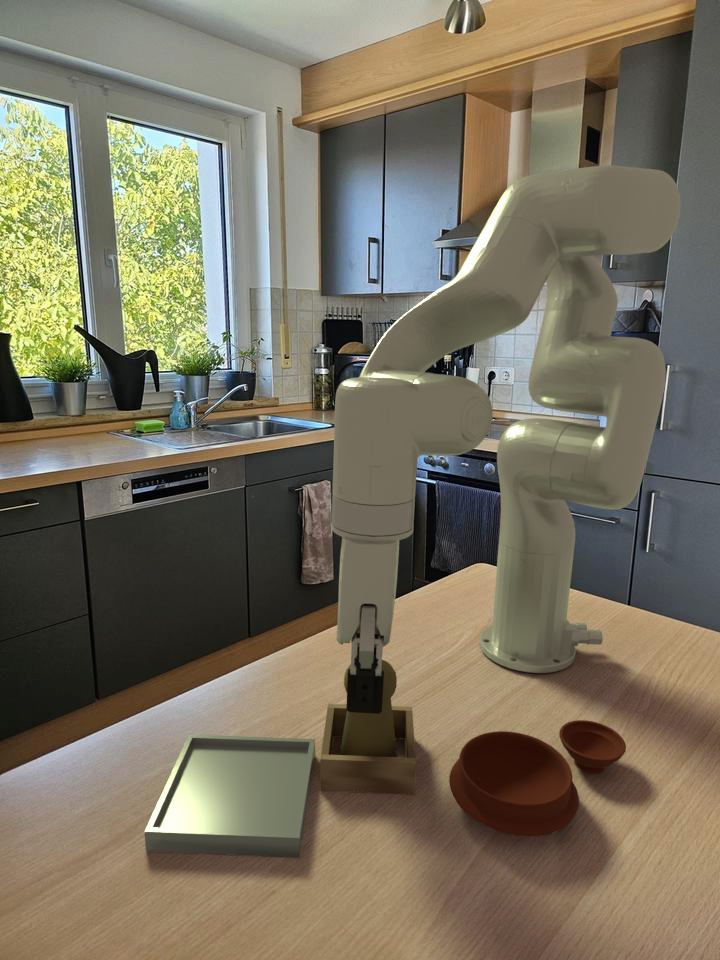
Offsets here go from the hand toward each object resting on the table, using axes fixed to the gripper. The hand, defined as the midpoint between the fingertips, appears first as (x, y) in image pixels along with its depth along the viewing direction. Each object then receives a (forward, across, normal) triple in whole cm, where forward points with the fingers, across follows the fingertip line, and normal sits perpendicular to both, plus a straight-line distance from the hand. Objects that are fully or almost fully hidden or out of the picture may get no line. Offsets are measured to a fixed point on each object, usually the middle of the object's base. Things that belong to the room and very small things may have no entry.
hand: (365, 682), depth 64 cm
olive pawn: (+10, -1, +1) cm, 10 cm away
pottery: (+9, +2, +18) cm, 20 cm away
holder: (+9, -1, +1) cm, 9 cm away
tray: (+10, +5, -11) cm, 16 cm away
